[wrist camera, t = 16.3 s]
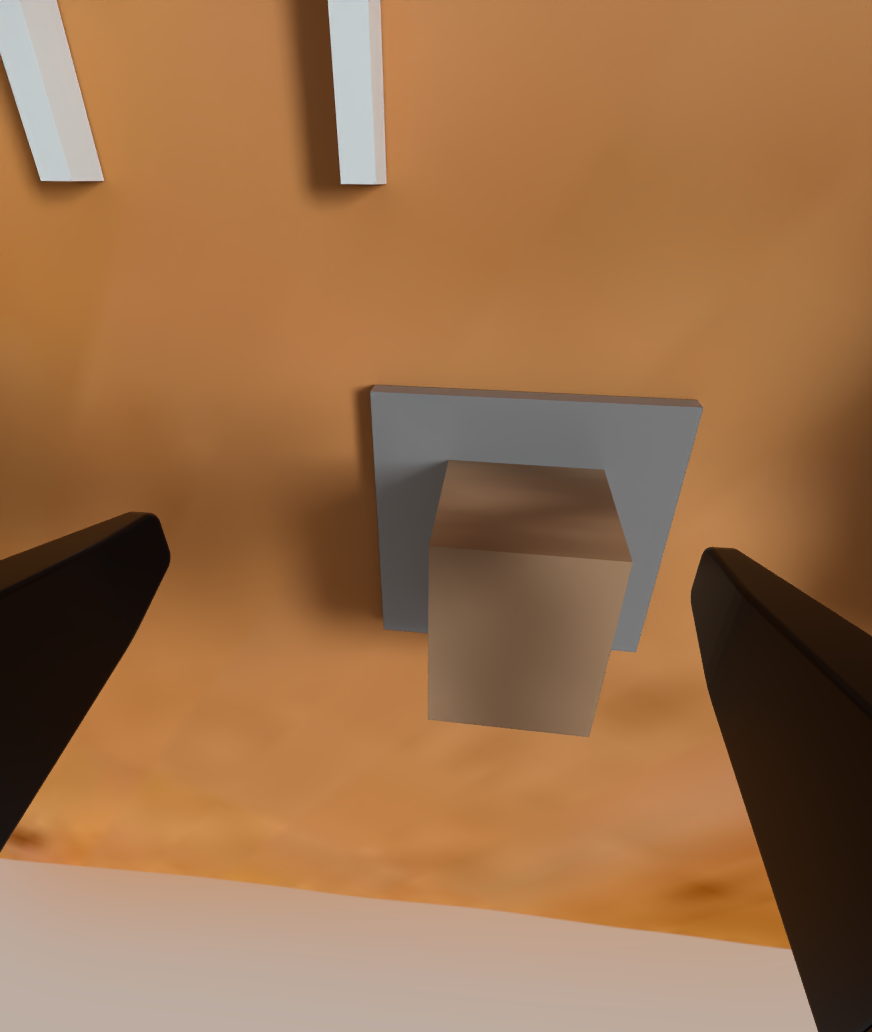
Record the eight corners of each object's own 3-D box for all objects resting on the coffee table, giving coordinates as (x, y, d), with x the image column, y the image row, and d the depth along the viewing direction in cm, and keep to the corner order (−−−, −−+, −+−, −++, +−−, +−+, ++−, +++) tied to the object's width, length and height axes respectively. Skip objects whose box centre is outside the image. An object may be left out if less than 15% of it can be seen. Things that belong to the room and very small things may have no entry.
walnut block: (604, 469, 16) (632, 562, 12) (574, 625, 19) (589, 737, 15) (448, 459, 16) (428, 546, 12) (444, 613, 19) (427, 719, 16)
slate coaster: (696, 400, 15) (703, 407, 15) (632, 640, 20) (635, 652, 19) (374, 385, 16) (370, 391, 15) (386, 618, 21) (383, 629, 20)
